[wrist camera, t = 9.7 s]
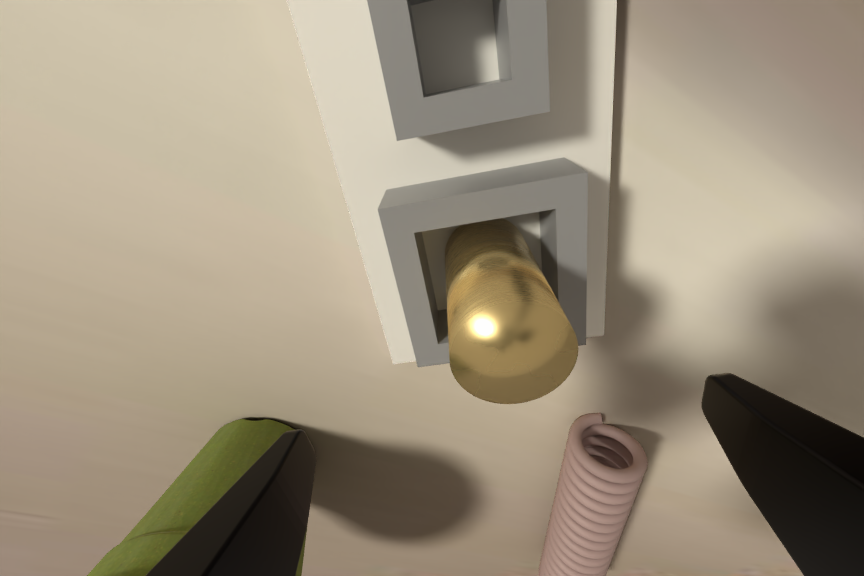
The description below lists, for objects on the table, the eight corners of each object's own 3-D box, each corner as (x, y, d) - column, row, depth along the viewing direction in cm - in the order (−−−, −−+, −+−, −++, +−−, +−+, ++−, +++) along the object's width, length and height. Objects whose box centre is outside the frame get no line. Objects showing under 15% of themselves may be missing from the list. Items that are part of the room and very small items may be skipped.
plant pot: (326, 515, 31) (275, 716, 22) (174, 477, 29) (41, 681, 19) (371, 419, 26) (332, 627, 16) (191, 366, 24) (19, 567, 14)
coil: (578, 467, 22) (540, 616, 31) (665, 475, 22) (601, 624, 30) (563, 406, 26) (534, 552, 35) (636, 412, 26) (587, 559, 34)
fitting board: (611, -167, 13) (676, -258, 9) (597, 325, 22) (627, 371, 19) (271, -79, 14) (215, -132, 10) (394, 353, 23) (387, 402, 20)
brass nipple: (522, 208, 18) (578, 292, 11) (528, 283, 20) (578, 396, 13) (438, 223, 18) (439, 313, 11) (451, 295, 20) (459, 410, 13)
